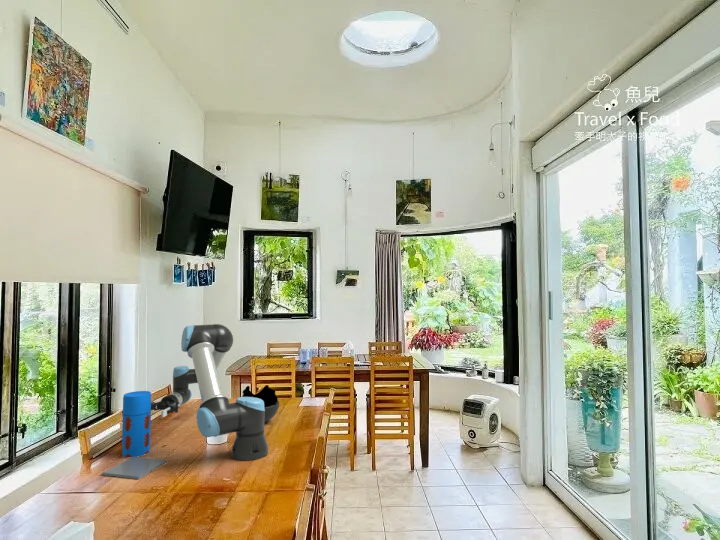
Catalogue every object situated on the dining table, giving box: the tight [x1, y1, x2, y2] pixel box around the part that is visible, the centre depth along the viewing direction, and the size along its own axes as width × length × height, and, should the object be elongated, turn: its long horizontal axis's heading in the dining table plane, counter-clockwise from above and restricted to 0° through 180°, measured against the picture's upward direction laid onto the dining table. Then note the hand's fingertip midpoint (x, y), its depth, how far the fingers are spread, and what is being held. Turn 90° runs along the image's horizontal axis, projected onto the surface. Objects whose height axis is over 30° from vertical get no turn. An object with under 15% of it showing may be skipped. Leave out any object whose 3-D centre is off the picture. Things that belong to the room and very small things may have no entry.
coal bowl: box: [241, 384, 280, 423], centre depth 228 cm, size 20×20×19 cm
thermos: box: [121, 390, 152, 458], centre depth 186 cm, size 11×11×25 cm
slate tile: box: [101, 456, 169, 480], centre depth 169 cm, size 16×16×1 cm
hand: (147, 414), depth 195 cm, fingers open, 13 cm apart
